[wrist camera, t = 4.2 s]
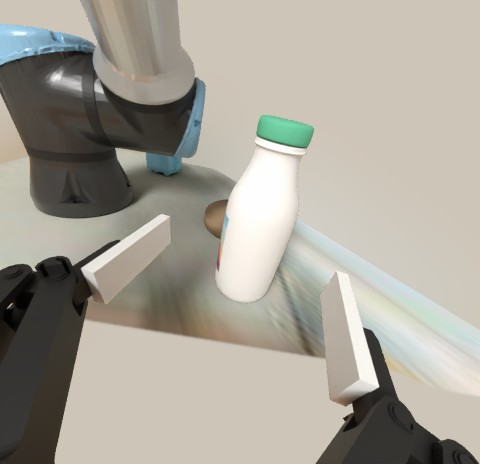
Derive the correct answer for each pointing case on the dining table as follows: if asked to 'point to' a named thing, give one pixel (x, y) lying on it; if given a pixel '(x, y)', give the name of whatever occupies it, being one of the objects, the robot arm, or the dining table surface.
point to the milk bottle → (262, 210)
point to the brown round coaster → (215, 217)
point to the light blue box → (163, 163)
